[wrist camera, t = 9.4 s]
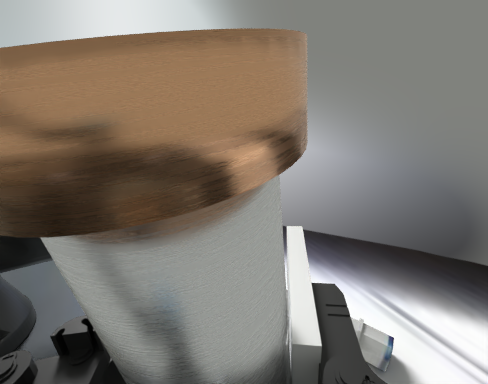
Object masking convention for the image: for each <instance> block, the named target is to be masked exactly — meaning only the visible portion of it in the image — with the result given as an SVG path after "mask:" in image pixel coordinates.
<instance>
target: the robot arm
mask: <svg viewBox="0 0 488 384" xmlns="http://www.w3.org/2000/svg"><path fill="white" fill-rule="evenodd" d="M52 260H53V259H52V257H51V255H50V253H49V252H48V250H47V248H46V247H45V245H44V243H43V242H42V240H41V238H19V237H10V236H1V235H0V273H3V272H7V271H11V270H15V269H19V268H23V267H27V266H31V265H35V264H39V263H43V262H47V261H52ZM287 283H288V311H289V339H290V366H291V384H387V383H385V382H384V381H383V380H381V379H380V378H379V377H378V376H377V375H376V374H375V373H374V372H373V371H372V370H371V369H370V368H369V366H368V365H367V363H366V361H365V359H364V357H363V354H362V351H361V348H360V345H359V342H358V339H357V335H356V332H355V329H354V326H353V323H352V320H351V318H350V313H349V310H348V308H347V304H346V301H345V298H344V295H343V293H342V292H341V291H340V290H339V288H338V287H337V286H336V285H335V284H324V283H311V277H310V271H309V265H308V259H307V253H306V247H305V241H304V235H303V229H302V226H287ZM35 321H36V311H35V309H34V307H33V305H32V303H31V301H30V300H29V298H28V297H26V296H25V295H23V294H22V293H21V292H20V291H18V290H17V289H16V288H15V287H13V286H12V285H11V284H10V283H8V282H7V281H6V280H4V279H3V278H2V277H1V275H0V384H126V382H125V380H124V379H123V377H122V375H121V373H120V372H119V370H118V368H117V367H116V365H115V363H114V362H113V360H112V358H111V357H110V355H109V353H108V352H107V350H106V348H105V346H104V345H103V343H102V341H101V340H100V338H99V336H98V335H97V333H96V331H95V330H94V328H93V326H92V324H91V323H90V321H89V319H88V318H87V316H86V315H84V316H80V317H76V318H74V319H72V320H70V321H68V322H66V323H64V324H63V325H62V326H60V327H59V328H57V329H56V331H55V332H54V333H53V334H52V335H51V336H50V337H51V339H52V341H53V344H54V346H55V348H56V350H57V352H58V356H53V357H49V358H44V359H40V360H35V361H34V359H33V357H32V355H31V353H30V352H28V351H26V350H21V351H15V352H13V351H14V350H15V349H16V348H17V347H18V346H19V345H20V344H21V343H22V341H23V340H24V339H25V338H26V337H27V335H28V334H29V333H30V331H31V329H32V328H33V326H34V324H35ZM11 352H12V353H11Z"/></svg>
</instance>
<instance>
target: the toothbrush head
mask: <svg viewBox="0 0 488 384" xmlns="http://www.w3.org/2000/svg"><path fill="white" fill-rule="evenodd" d="M286 299H287V316H288V318H289V311H288V290H286ZM350 318H351V317H350ZM351 320H352V323H353V326H354V329H355V332H356V335H357V339H358V342H359V345H360V348H361V351H362V354H363V357H364V359H365V361H366V362H368V363H370V364H372V365H373V366H375V367H377V368H379V369H381V370H382V371H384V372H385V371H386V369H387V366H388V364H389V361H390V358H391V354H392V350H393V341H394V338H393V337H391V336H389V335H387V334H385V333H383V332H381V331H379V330H376V329H374V328H372V327H370V326H368V325H366V324H364V323H363V322H364V320H362V319H360V320H359V321H358V320H355V319H353V318H351Z"/></svg>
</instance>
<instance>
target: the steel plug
mask: <svg viewBox="0 0 488 384" xmlns="http://www.w3.org/2000/svg"><path fill="white" fill-rule="evenodd" d="M306 146H307V35H306V33H303V32H300V31H294V30H285V29H213V30H212V29H211V30H191V31H173V32H157V33H143V34H130V35H117V36H105V37H95V38H85V39H75V40H65V41H55V42H46V43H38V44H30V45H20V46H13V47H4V48H0V235H1V236H10V237H19V238H41V240H42V242H43V243H44V245H45V247H46V248H47V250H48V252H49V253H50V255H51V257H52V259H53V260H54V262H55V264H56V265H57V267H58V269H59V270H60V272H61V274H62V275H63V277H64V279H65V281H66V282H67V284H68V286H69V287H70V289H71V291H72V292H73V294H74V296H75V297H76V299H77V301H78V303H79V304H80V306H81V308H82V309H83V311H84V313H85V314H86V316H87V318H88V319H89V321H90V323H91V324H92V326H93V328H94V330H95V331H96V333H97V335H98V336H99V338H100V340H101V341H102V343H103V345H104V346H105V348H106V350H107V352H108V353H109V355H110V357H111V358H112V360H113V362H114V363H115V365H116V367H117V368H118V370H119V372H120V373H121V375H122V377H123V379H124V380H125V382H126V384H291V368H290V351H289V334H288V316H287V299H286V282H285V265H284V247H283V230H282V214H281V196H280V178H279V174H281V173H282V172H284V171H285V170H286V169H288V168H289V167H291V166H292V165H293V164H294V163H295V162H296V161H297V160H298V159H299V158H300V157H301V156H302V155H303V153H304V151H305V150H306Z"/></svg>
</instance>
